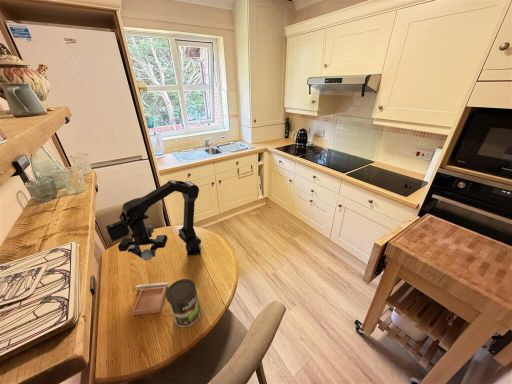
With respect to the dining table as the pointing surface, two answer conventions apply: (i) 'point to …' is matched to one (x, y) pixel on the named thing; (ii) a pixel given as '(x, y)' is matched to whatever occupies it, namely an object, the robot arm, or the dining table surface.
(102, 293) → the dining table surface
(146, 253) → the ball
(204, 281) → the dining table surface
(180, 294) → the coffee can
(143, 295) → the dish
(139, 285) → the wall
